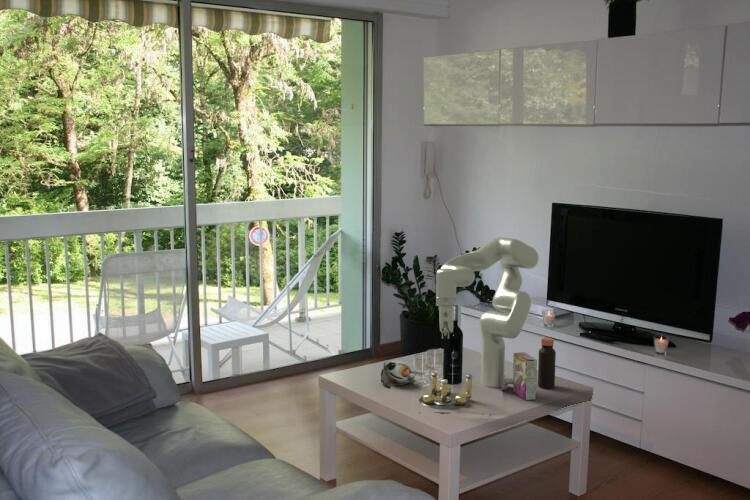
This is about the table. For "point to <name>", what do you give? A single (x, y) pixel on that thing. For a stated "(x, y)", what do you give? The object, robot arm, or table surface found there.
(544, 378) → the bottle
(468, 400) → the tribrach plate
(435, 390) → the gold u-shaped piece
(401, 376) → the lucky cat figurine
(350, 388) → the table surface
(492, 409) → the table surface
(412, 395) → the table surface
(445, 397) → the gold l-shaped fitting
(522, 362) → the candy bar box
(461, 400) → the gold bent piece
